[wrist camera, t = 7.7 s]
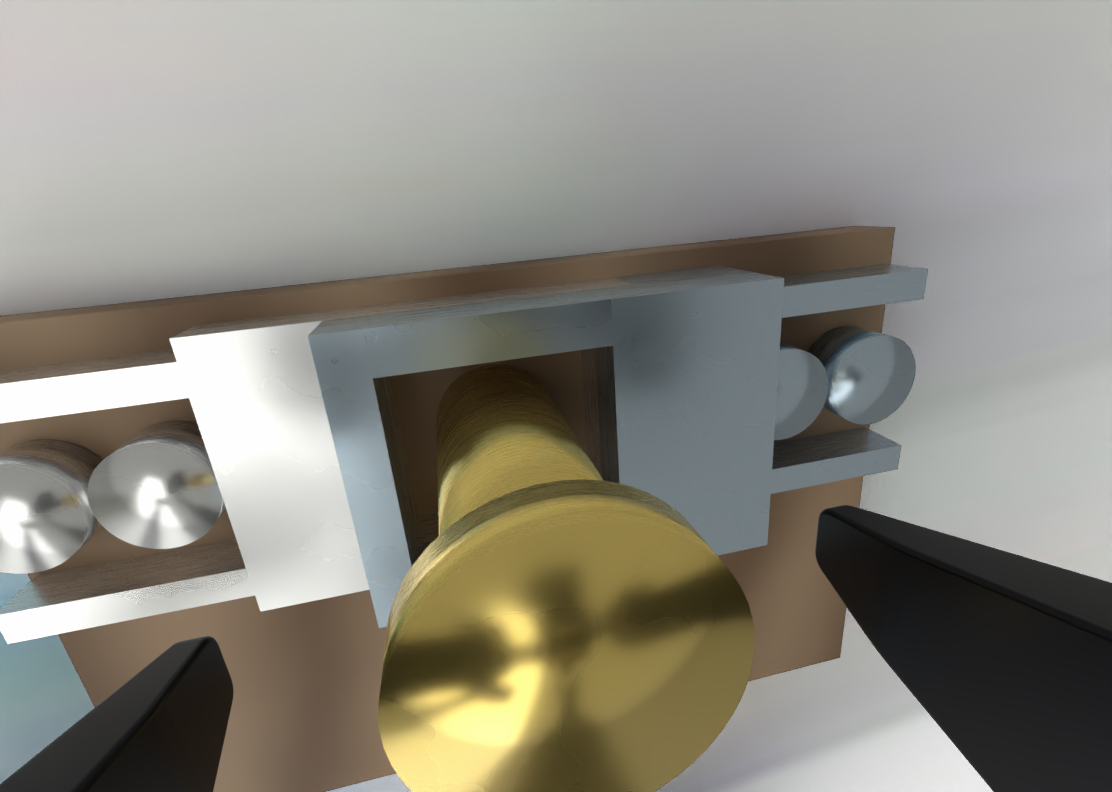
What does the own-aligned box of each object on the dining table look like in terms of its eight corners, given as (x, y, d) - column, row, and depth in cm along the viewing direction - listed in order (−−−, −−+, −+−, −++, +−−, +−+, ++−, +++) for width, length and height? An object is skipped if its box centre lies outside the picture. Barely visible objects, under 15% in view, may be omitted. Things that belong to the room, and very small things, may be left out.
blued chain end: (388, 552, 15) (378, 627, 13) (334, 309, 13) (307, 336, 10) (862, 462, 18) (940, 507, 15) (889, 245, 16) (988, 253, 13)
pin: (485, 524, 16) (545, 877, 7) (371, 414, 14) (282, 714, 6) (608, 426, 16) (811, 672, 7) (508, 302, 14) (625, 440, 5)
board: (179, 787, 18) (158, 835, 17) (-37, 320, 13) (-94, 333, 11) (814, 629, 22) (840, 657, 21) (856, 225, 17) (895, 227, 15)
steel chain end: (54, 616, 14) (12, 661, 13) (-77, 355, 12) (-147, 375, 10) (622, 508, 17) (640, 535, 15) (612, 277, 14) (631, 284, 13)
